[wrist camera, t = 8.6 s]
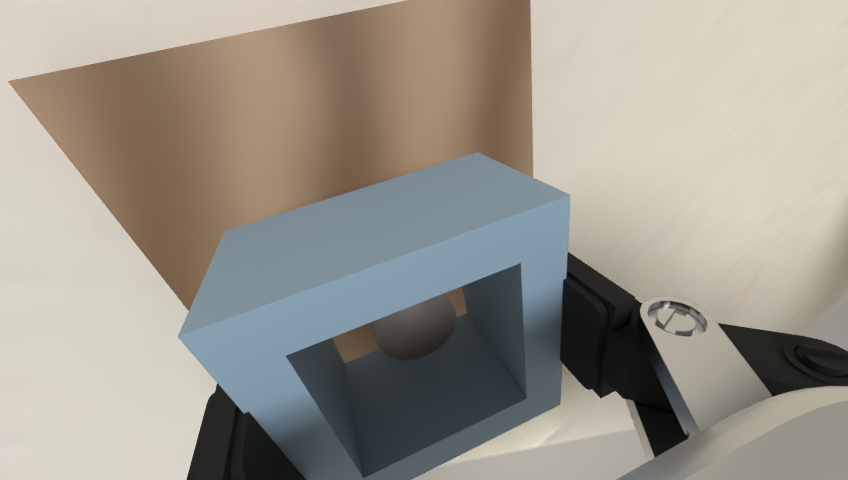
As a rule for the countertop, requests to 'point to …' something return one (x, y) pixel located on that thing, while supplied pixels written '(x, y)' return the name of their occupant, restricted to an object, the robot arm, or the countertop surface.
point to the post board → (295, 130)
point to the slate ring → (381, 296)
